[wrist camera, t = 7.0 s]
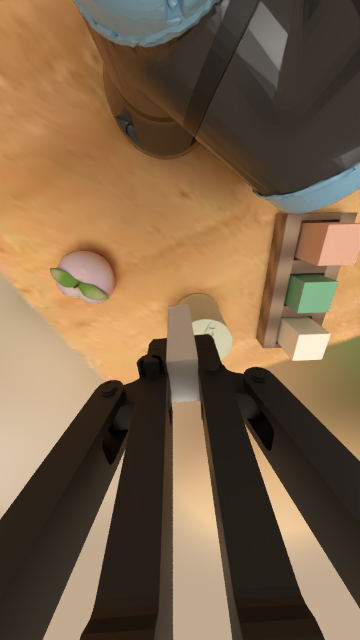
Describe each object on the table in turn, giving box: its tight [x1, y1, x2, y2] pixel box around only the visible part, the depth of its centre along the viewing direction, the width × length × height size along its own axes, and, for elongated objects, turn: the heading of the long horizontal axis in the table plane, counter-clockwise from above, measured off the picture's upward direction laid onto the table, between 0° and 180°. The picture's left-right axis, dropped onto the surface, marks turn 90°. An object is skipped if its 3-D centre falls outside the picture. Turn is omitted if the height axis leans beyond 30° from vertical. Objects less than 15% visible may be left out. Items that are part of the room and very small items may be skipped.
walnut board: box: [256, 213, 357, 348], centre depth 40 cm, size 25×11×4 cm, turn 1°
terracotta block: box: [294, 222, 360, 266], centre depth 32 cm, size 5×5×7 cm
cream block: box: [276, 316, 330, 361], centre depth 40 cm, size 5×5×7 cm
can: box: [178, 294, 232, 360], centre depth 39 cm, size 9×9×12 cm
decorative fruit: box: [50, 251, 115, 304], centre depth 35 cm, size 9×8×10 cm
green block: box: [284, 273, 338, 313], centre depth 38 cm, size 5×5×7 cm
